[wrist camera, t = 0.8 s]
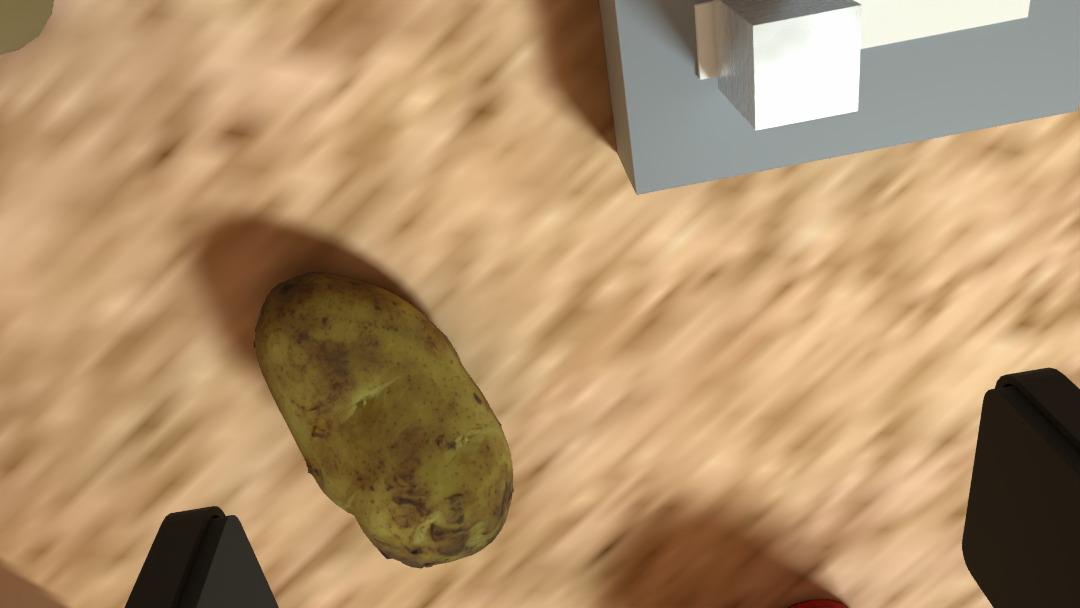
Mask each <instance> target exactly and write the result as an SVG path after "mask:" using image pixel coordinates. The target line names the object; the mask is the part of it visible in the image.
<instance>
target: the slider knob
mask: <svg viewBox="0 0 1080 608" xmlns="http://www.w3.org/2000/svg"><path fill="white" fill-rule="evenodd" d="M714 18H715V38H716V58H717V78H718V89H719V90H720V91H721V92H722V94H723V95H724V96H725V97H726V98H727V99H728V100H729V101H730V102H731V104H732V105H733V106H734V107H735V108H736V109H737V110H738V111H739V112H740V113H741V115H742V116H743V117H744V118H745V119H746V120H747V121H748V122H749V123H750V125H751V126H752V127H753V128H754V129H755V130H760V129H766V128H771V127H776V126H781V125H786V124H792V123H797V122H802V121H807V120H813V119H818V118H823V117H828V116H834V115H839V114H844V113H849V112H855V111H858V94H859V70H860V46H861V22H862V5H861V4H860V3H858V2H856V1H854V0H714Z"/></svg>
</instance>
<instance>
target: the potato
mask: <svg viewBox="0 0 1080 608" xmlns="http://www.w3.org/2000/svg"><path fill="white" fill-rule="evenodd" d="M255 333H256V335H255V341H254V347H255V348H256V354H257V358H258V362H259V365H260V368H261V371H262V374H263V376H264V378H265V380H266V382H267V385H268V387H269V389H270V391H271V394H272V396H273V398H274V400H275V402H276V404H277V406H278V408H279V410H280V412H281V414H282V416H283V418H284V420H285V421H286V423H287V425H288V427H289V429H290V431H291V433H292V435H293V437H294V439H295V441H296V443H297V445H298V447H299V449H300V451H301V453H302V455H303V457H304V459H305V461H306V464H307V467H308V473H310V474H312V475H313V477H314V478H315V480H316V482H317V483H318V485H319V487H320V488H321V490H322V491H323V492H324V493H325V494H326V495H327V496H328V497H329V498H330V499H331V500H332V501H333V502H334V503H335V504H336V505H338V506H339V507H341V508H342V509H344V510H345V511H347V512H348V513H351V514H353V515H354V516H355V517H356V519H357V521H358V523H359V525H360V527H361V529H362V530H363V532H364V533H365V535H366V536H367V537H368V538H369V540H370V541H371V542H372V543H373V545H374V546H376V547H377V548H378V550H379V551H380V552H381V553H382V555H383V556H384V557H385V558H387V559H392V558H393V559H395V560H398V561H401V562H402V563H403V564H405V565H408V566H411V567H415V568H423V567H431V566H433V565H436V564H442V563H447V562H452V561H455V560H458V559H461V558H464V557H467V556H470V555H473V554H475V553H477V552H479V551H481V550H482V549H484V548H485V547H486V546H487V545H488V544H489V543H491V542H492V541H493V540H494V539H495V538H496V536H497V535H498V534H499V532H500V531H501V529H502V527H503V525H504V523H505V521H506V518H507V515H508V511H509V507H510V504H511V500H512V493H513V491H514V489H513V485H512V484H513V468H512V460H511V453H510V450H509V446H508V443H507V440H506V438H505V435H504V433H503V430H502V428H501V424H500V422H499V421H498V419H497V418H496V416H495V415H494V413H493V411H492V409H491V407H490V406H489V404H488V402H487V400H486V399H485V397H484V395H483V394H482V392H481V391H480V389H479V388H478V386H477V385H476V384H475V382H474V381H473V380H472V378H471V377H470V375H469V374H468V373H467V371H466V370H465V368H464V367H463V365H462V363H461V361H460V359H459V356H458V354H457V352H456V351H455V349H454V347H453V345H452V344H451V342H450V341H449V340H448V338H447V337H446V336H445V335H444V334H443V333H442V332H441V331H440V330H439V329H438V328H437V327H436V326H435V325H434V324H433V323H432V322H431V321H430V320H429V319H428V318H427V317H426V316H424V315H423V314H422V313H421V312H420V311H419V310H417V309H416V308H415V307H413V306H412V305H411V304H410V303H408V302H407V301H405V300H403V299H402V298H400V297H399V296H397V295H395V294H393V293H391V292H389V291H387V290H385V289H382V288H380V287H377V286H375V285H372V284H369V283H366V282H363V281H358V280H354V279H350V278H347V277H343V276H339V275H334V274H327V273H307V274H305V275H302V276H298V277H295V278H293V279H290V280H288V281H285V282H283V283H280V284H279V285H277V286H276V287H275V288H274V289H272V290H271V292H270V293H269V294H268V296H267V297H266V299H265V302H264V304H263V306H262V309H261V312H260V316H259V320H258V323H257V326H256V329H255Z"/></svg>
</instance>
